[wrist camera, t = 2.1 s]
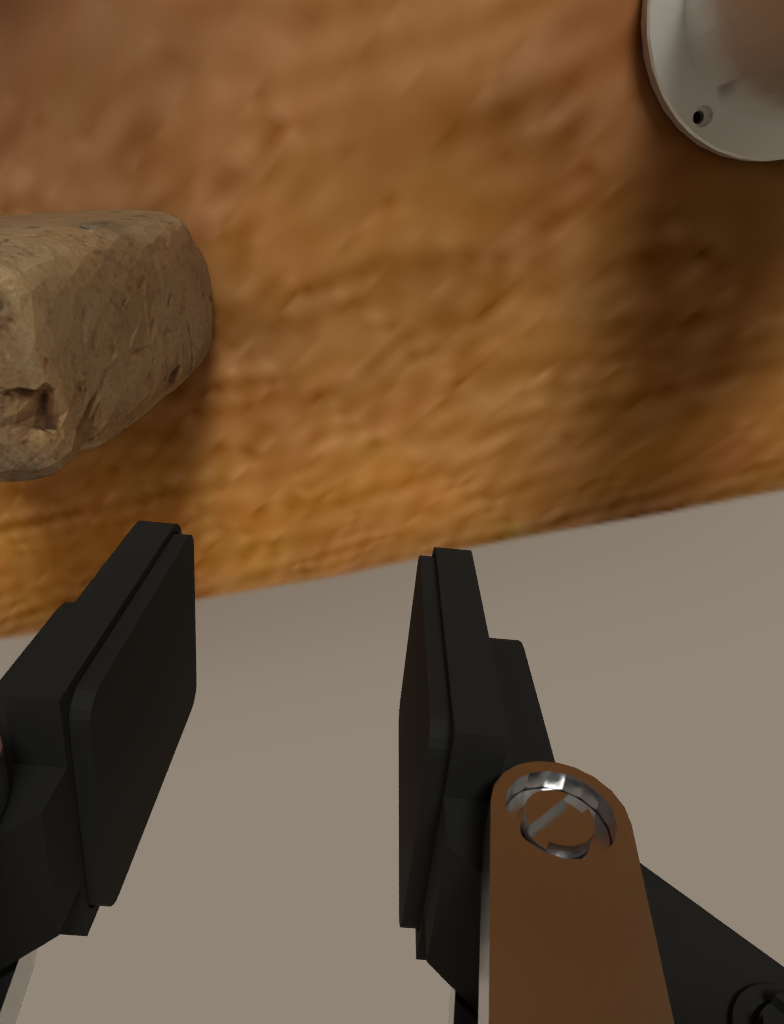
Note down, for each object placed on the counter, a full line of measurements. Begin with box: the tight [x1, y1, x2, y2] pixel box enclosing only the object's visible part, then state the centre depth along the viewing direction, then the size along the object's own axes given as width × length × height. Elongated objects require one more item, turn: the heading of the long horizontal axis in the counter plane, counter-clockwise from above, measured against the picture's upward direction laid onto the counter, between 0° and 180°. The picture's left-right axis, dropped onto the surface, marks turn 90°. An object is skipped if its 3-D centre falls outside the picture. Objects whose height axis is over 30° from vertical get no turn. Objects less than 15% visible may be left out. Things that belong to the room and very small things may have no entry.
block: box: [0, 210, 213, 482], centre depth 28 cm, size 11×8×20 cm
